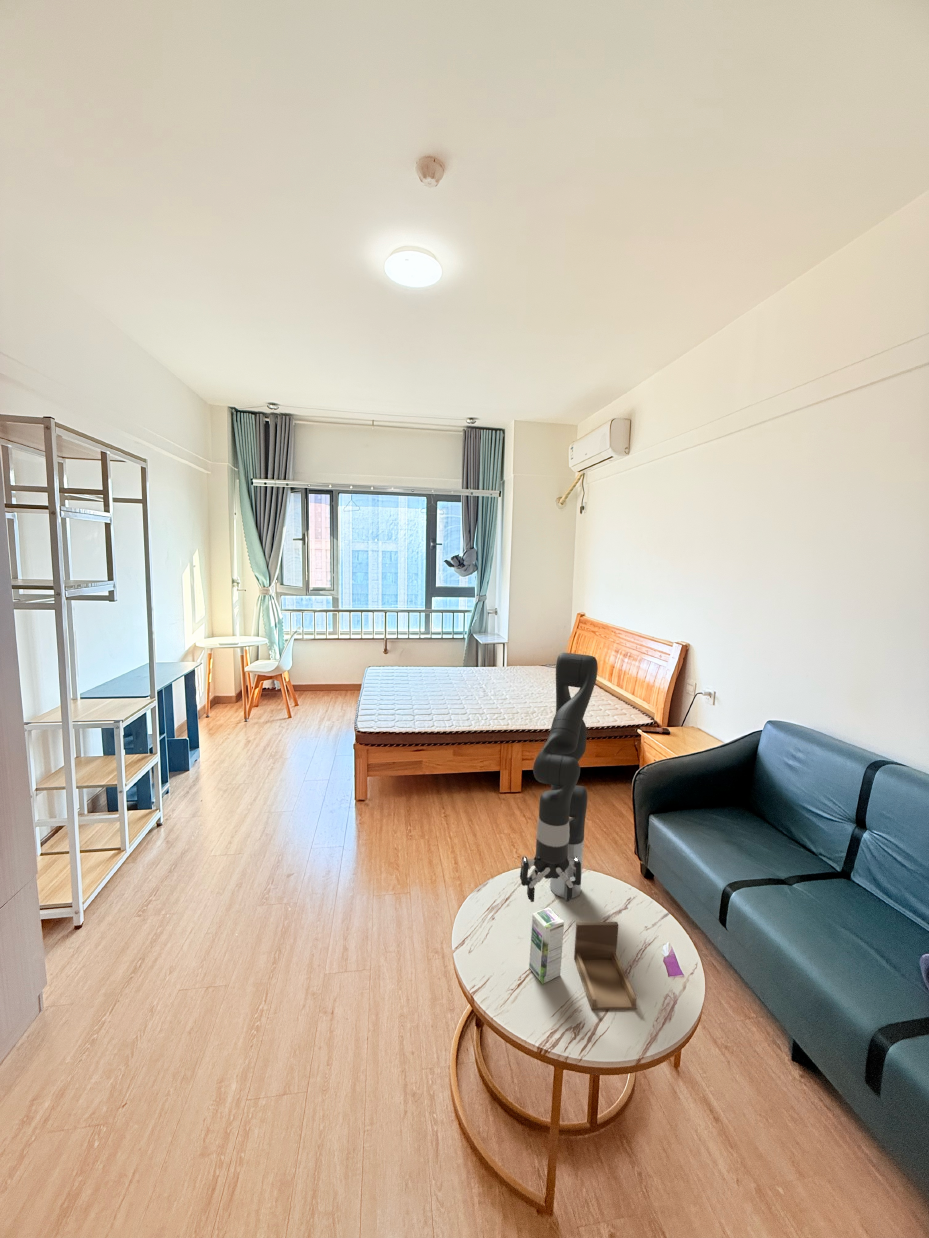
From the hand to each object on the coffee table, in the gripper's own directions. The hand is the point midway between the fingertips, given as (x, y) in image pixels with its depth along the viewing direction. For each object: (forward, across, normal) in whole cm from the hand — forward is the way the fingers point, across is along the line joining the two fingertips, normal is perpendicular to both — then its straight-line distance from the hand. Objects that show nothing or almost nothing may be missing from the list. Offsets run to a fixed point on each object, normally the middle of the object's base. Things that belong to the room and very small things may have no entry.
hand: (549, 899), depth 117 cm
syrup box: (+19, 0, 0) cm, 19 cm away
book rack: (+19, -14, +4) cm, 24 cm away
